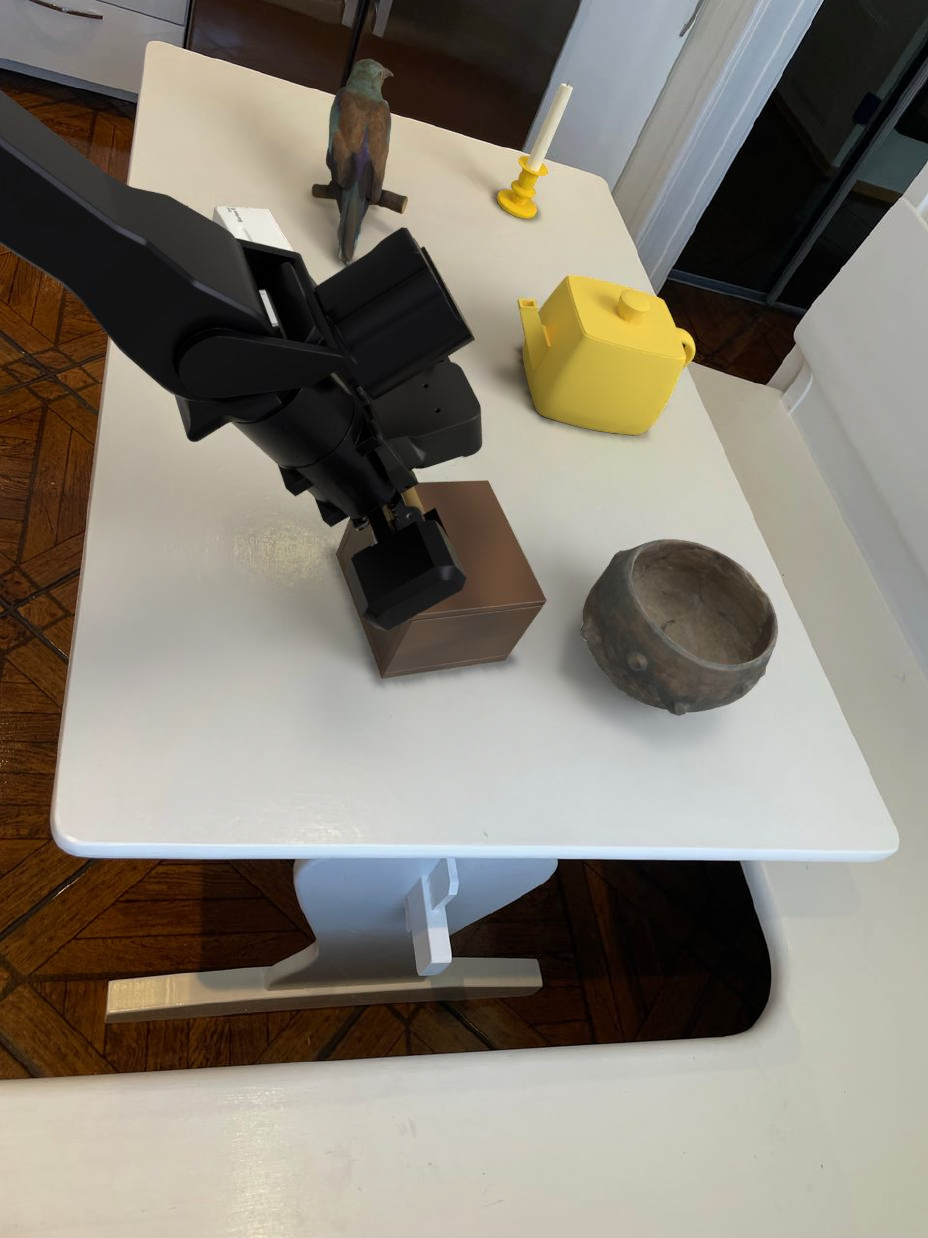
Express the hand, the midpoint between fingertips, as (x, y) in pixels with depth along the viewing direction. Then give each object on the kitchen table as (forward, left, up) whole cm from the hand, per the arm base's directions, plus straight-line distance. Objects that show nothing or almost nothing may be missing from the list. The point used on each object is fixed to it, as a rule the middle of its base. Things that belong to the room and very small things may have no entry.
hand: (421, 538), depth 64 cm
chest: (+3, +1, -9) cm, 9 cm away
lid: (+2, +1, -1) cm, 3 cm away
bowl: (+22, +1, -9) cm, 23 cm away
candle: (+10, +68, -9) cm, 69 cm away
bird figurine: (-9, +53, -9) cm, 54 cm away
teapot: (+17, +35, -9) cm, 40 cm away
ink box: (-16, +24, -9) cm, 30 cm away
